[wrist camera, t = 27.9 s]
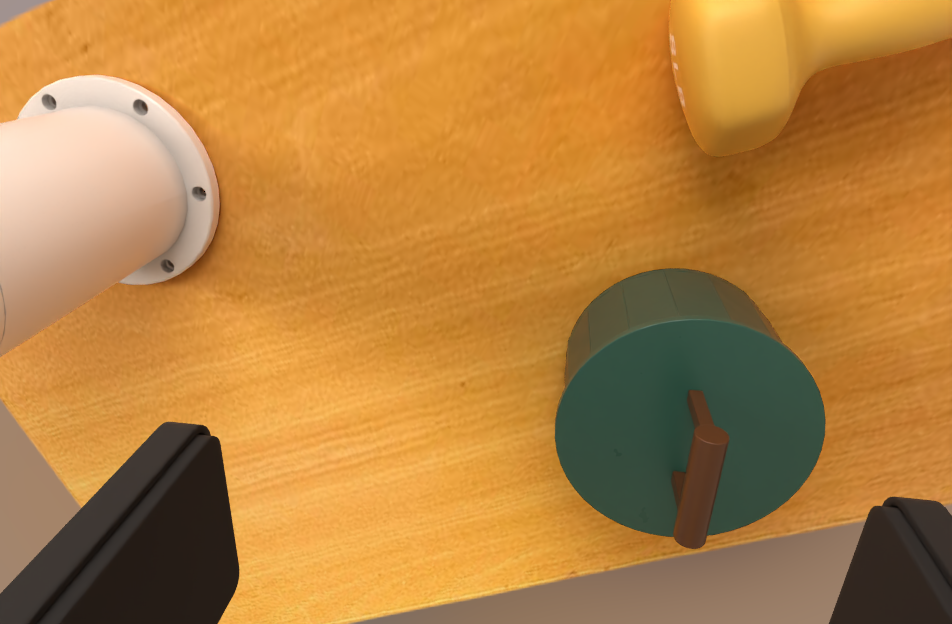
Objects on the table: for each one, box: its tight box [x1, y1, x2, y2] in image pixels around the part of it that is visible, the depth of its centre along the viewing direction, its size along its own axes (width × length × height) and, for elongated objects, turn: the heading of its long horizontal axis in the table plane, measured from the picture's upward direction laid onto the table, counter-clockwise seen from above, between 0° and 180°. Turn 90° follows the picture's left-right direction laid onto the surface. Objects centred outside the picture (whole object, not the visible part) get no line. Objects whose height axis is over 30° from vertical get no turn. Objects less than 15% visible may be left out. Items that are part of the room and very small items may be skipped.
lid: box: [555, 315, 825, 549], centre depth 33 cm, size 13×13×6 cm
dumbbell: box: [669, 0, 952, 157], centre depth 29 cm, size 19×9×8 cm, turn 105°
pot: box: [565, 269, 782, 387], centre depth 39 cm, size 12×12×8 cm
